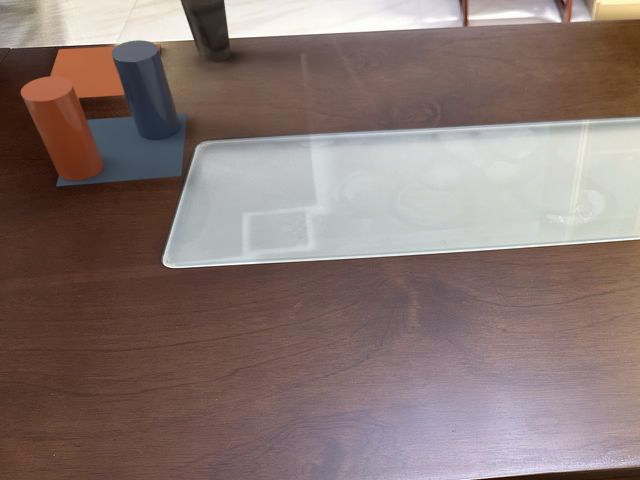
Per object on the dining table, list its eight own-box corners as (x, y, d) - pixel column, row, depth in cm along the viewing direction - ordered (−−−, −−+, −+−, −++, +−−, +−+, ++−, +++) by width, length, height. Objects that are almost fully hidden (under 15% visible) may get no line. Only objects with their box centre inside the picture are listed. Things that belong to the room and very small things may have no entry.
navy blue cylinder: (135, 141, 97) (108, 63, 88) (139, 118, 100) (113, 41, 92) (179, 138, 97) (156, 60, 89) (181, 115, 101) (159, 38, 93)
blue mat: (57, 190, 90) (55, 186, 90) (75, 124, 100) (73, 120, 99) (182, 179, 92) (181, 175, 92) (188, 116, 102) (186, 112, 102)
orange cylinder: (54, 182, 90) (16, 102, 82) (61, 157, 94) (25, 77, 85) (101, 179, 91) (68, 99, 83) (106, 153, 94) (75, 74, 86)
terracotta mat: (43, 103, 103) (42, 100, 102) (60, 52, 112) (58, 49, 112) (154, 96, 105) (153, 93, 105) (161, 47, 115) (160, 43, 114)
